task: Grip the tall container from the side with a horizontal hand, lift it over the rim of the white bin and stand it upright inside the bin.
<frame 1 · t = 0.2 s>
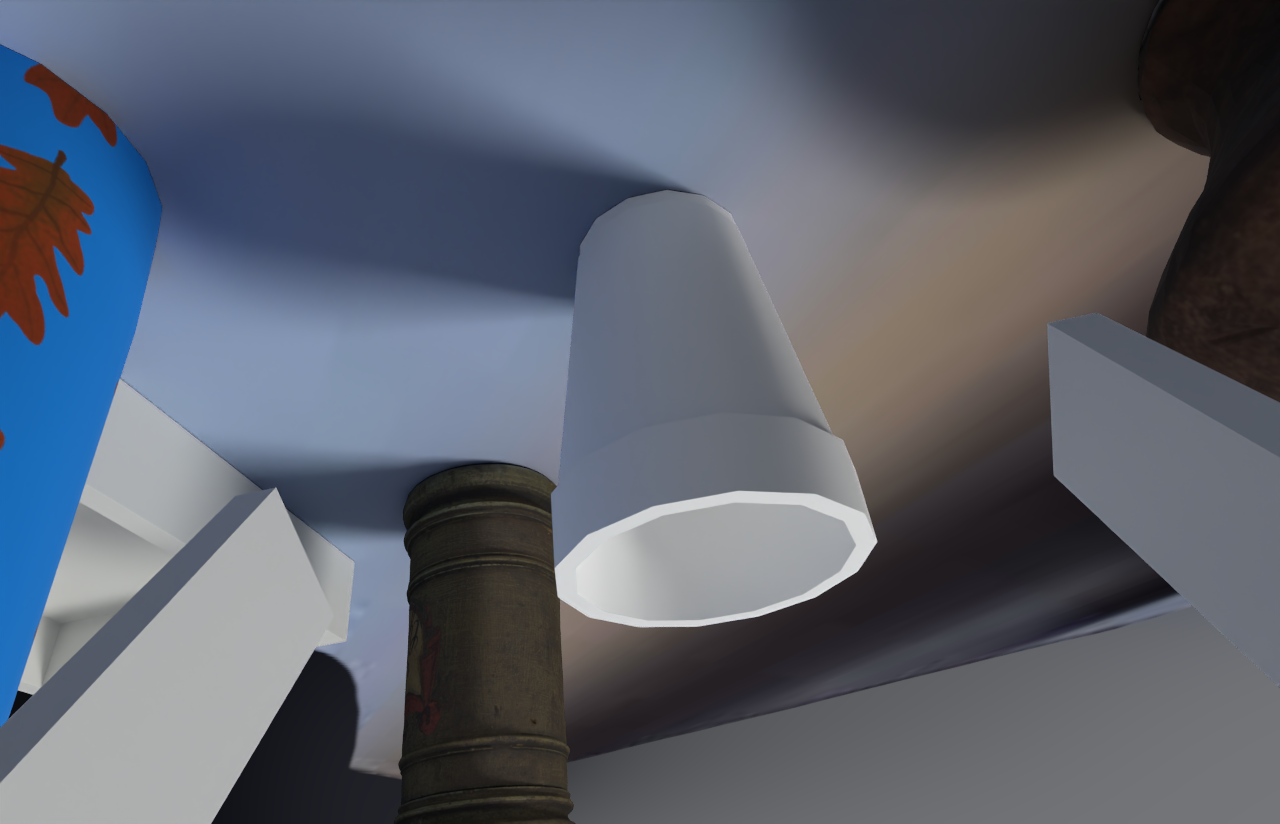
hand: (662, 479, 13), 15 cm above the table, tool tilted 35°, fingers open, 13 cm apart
foam cup: (659, 252, 31), on the table
white bin: (85, 523, 42), on the table
container: (485, 500, 45), on the table
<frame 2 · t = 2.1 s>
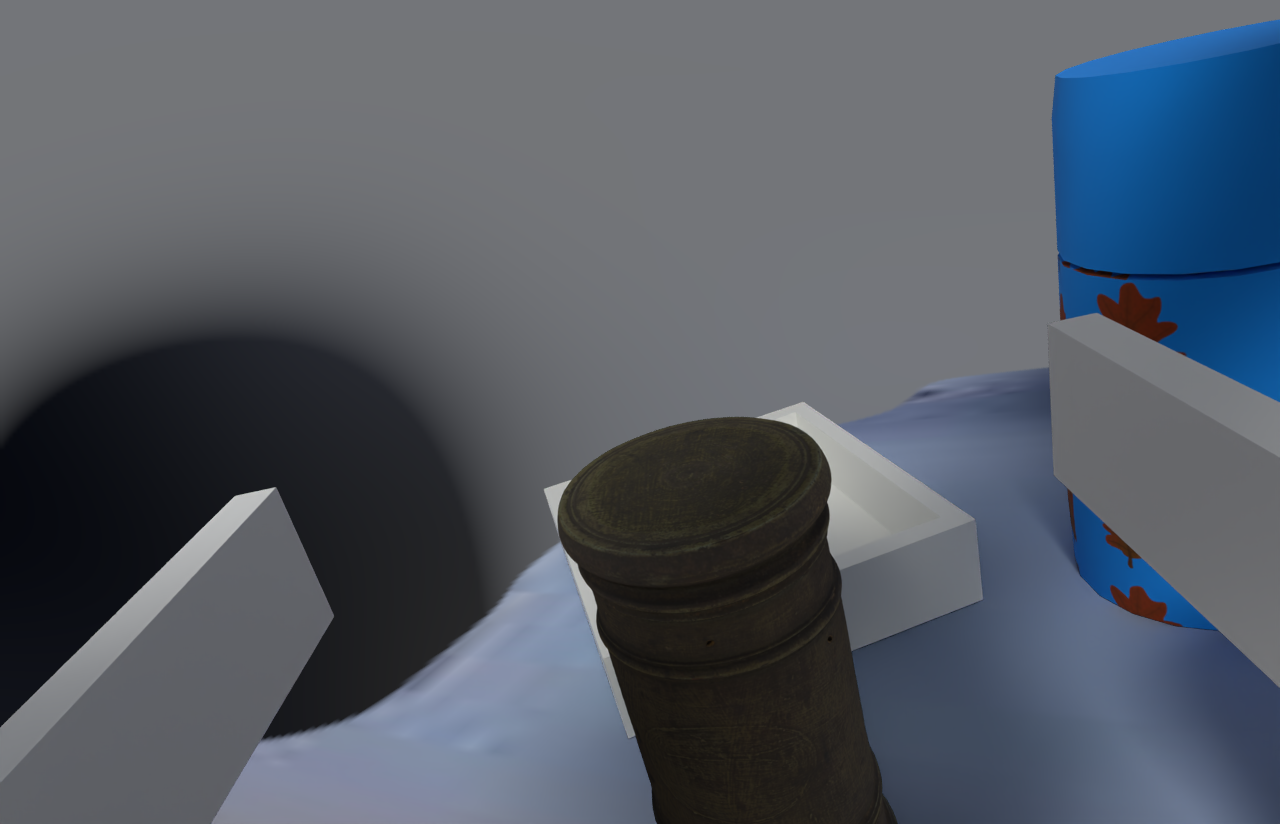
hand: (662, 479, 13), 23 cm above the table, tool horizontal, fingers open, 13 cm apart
white bin: (740, 570, 50), on the table
thermos: (1190, 567, 41), on the table
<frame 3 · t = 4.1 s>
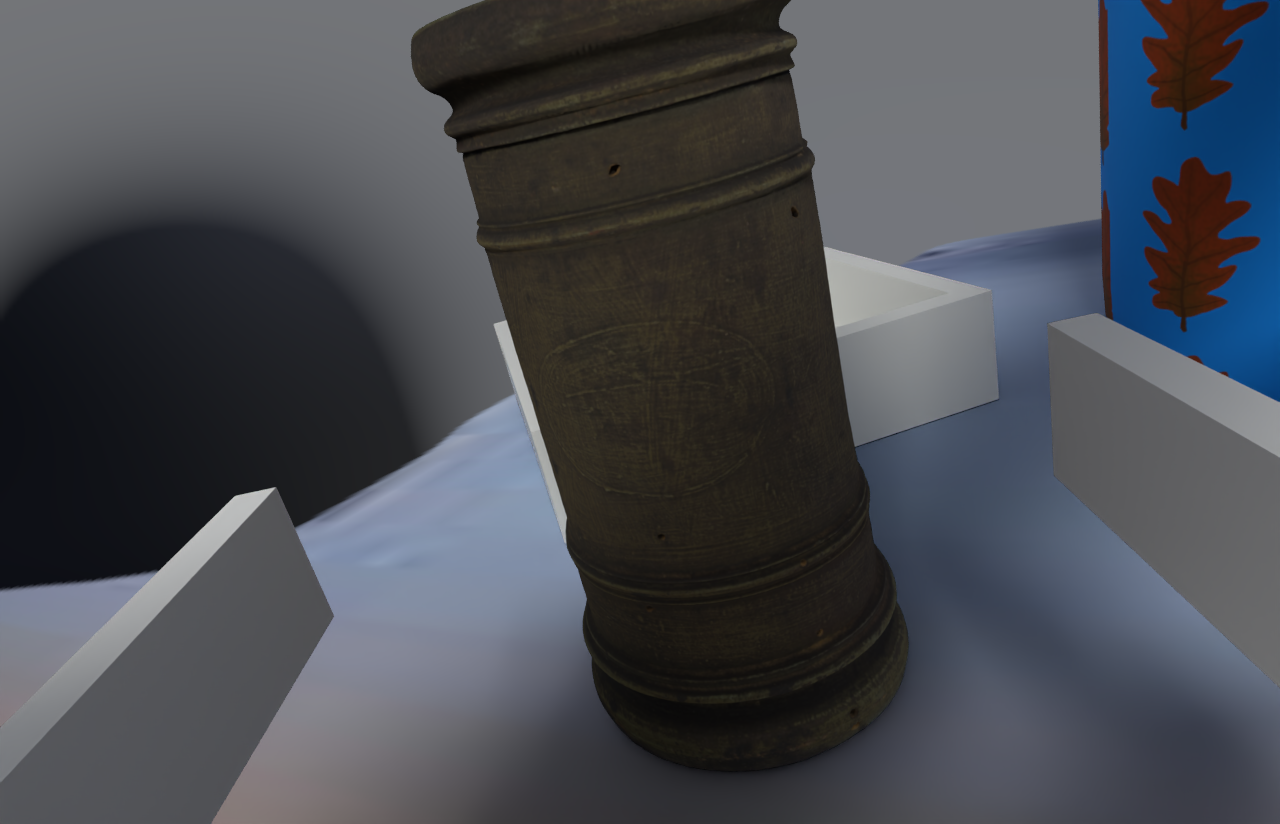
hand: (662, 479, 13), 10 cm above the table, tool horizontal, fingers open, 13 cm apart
white bin: (714, 398, 43), on the table
thermos: (1251, 355, 34), on the table
container: (748, 661, 24), on the table
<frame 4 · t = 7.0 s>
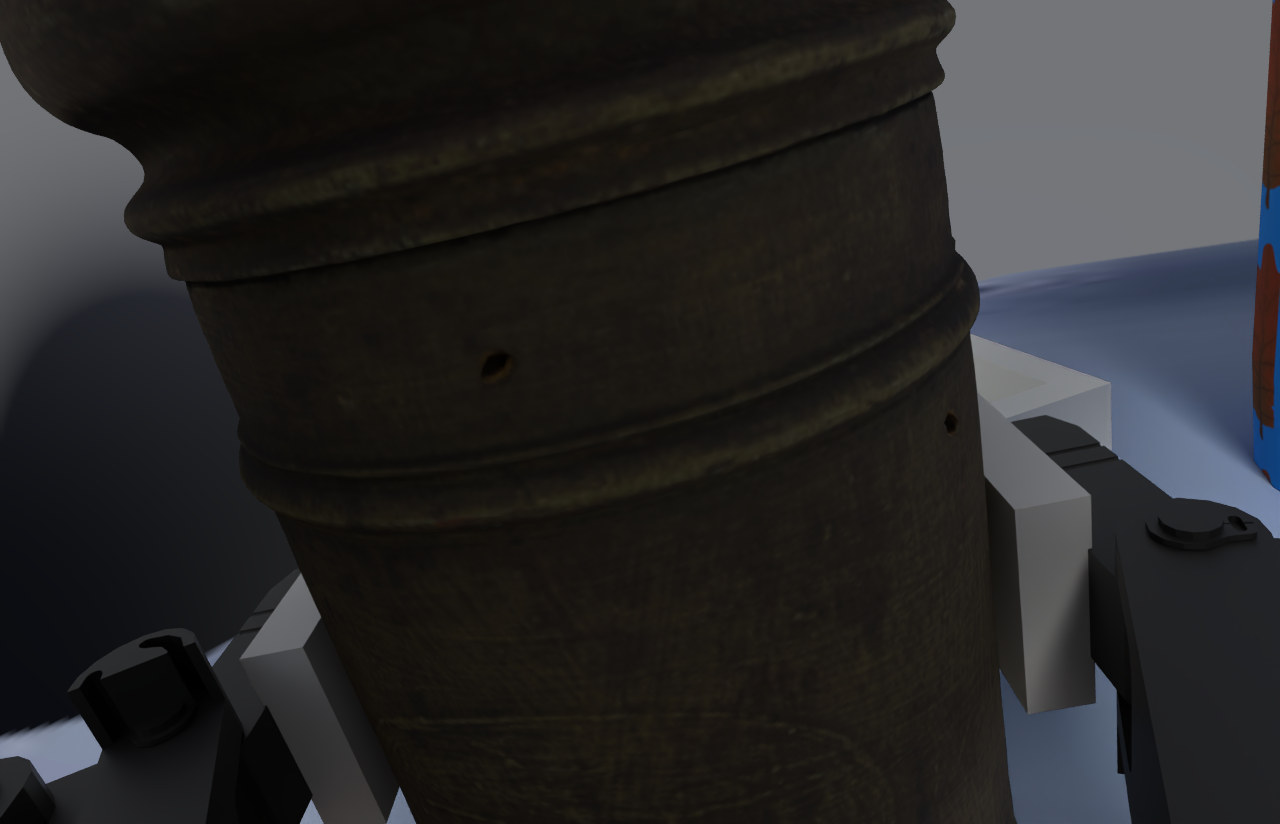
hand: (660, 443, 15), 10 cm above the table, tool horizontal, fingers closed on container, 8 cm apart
white bin: (720, 496, 33), on the table
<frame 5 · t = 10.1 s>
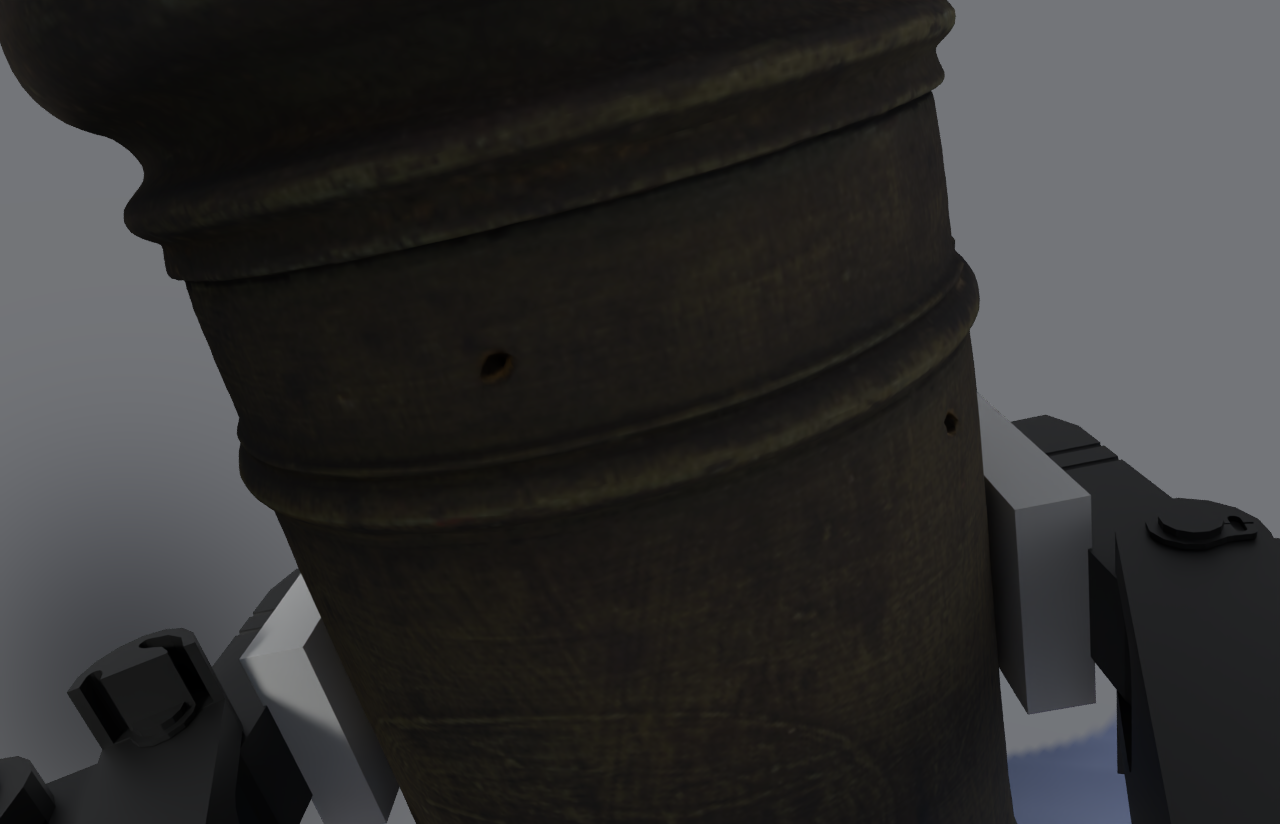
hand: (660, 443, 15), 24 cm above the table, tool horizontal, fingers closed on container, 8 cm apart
when the fingers open (12 cm above the table, at t = 13.1 s): container drops 1 cm, resting on white bin.
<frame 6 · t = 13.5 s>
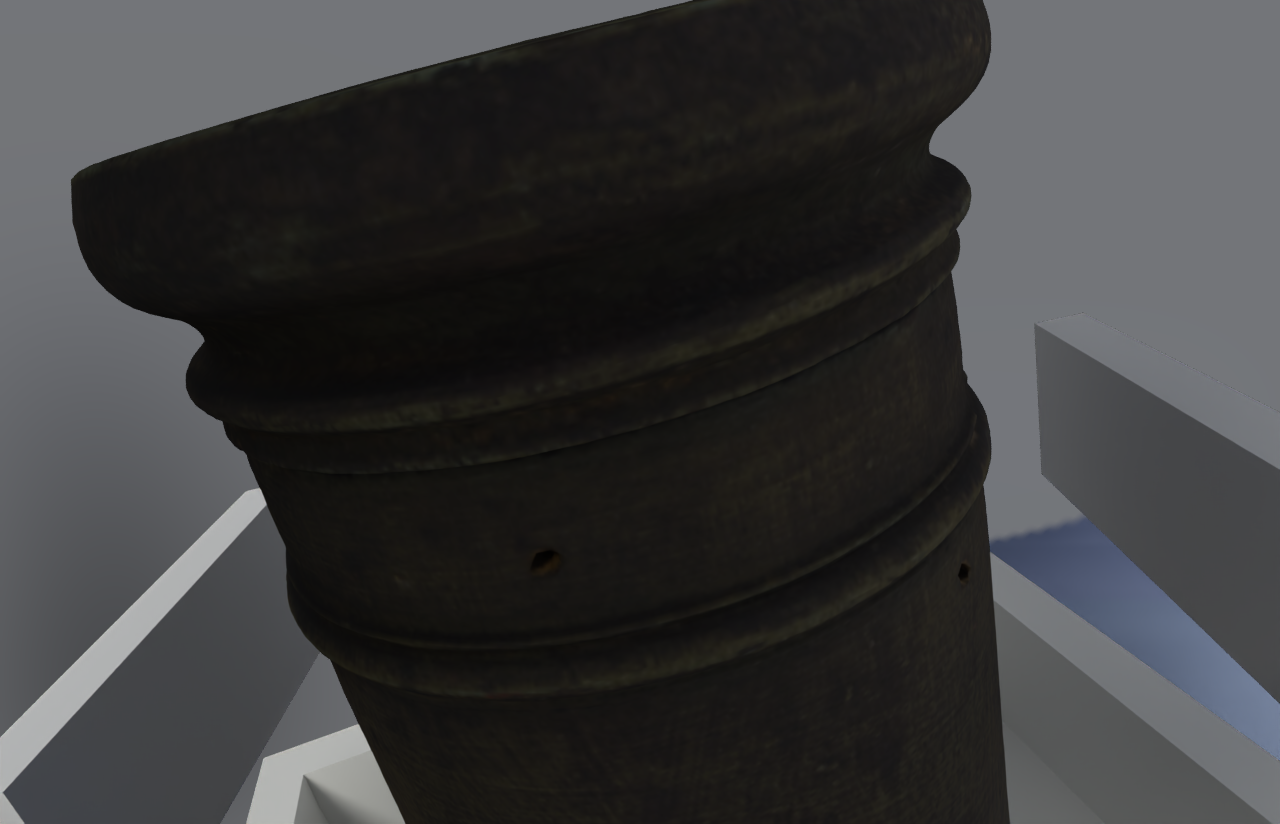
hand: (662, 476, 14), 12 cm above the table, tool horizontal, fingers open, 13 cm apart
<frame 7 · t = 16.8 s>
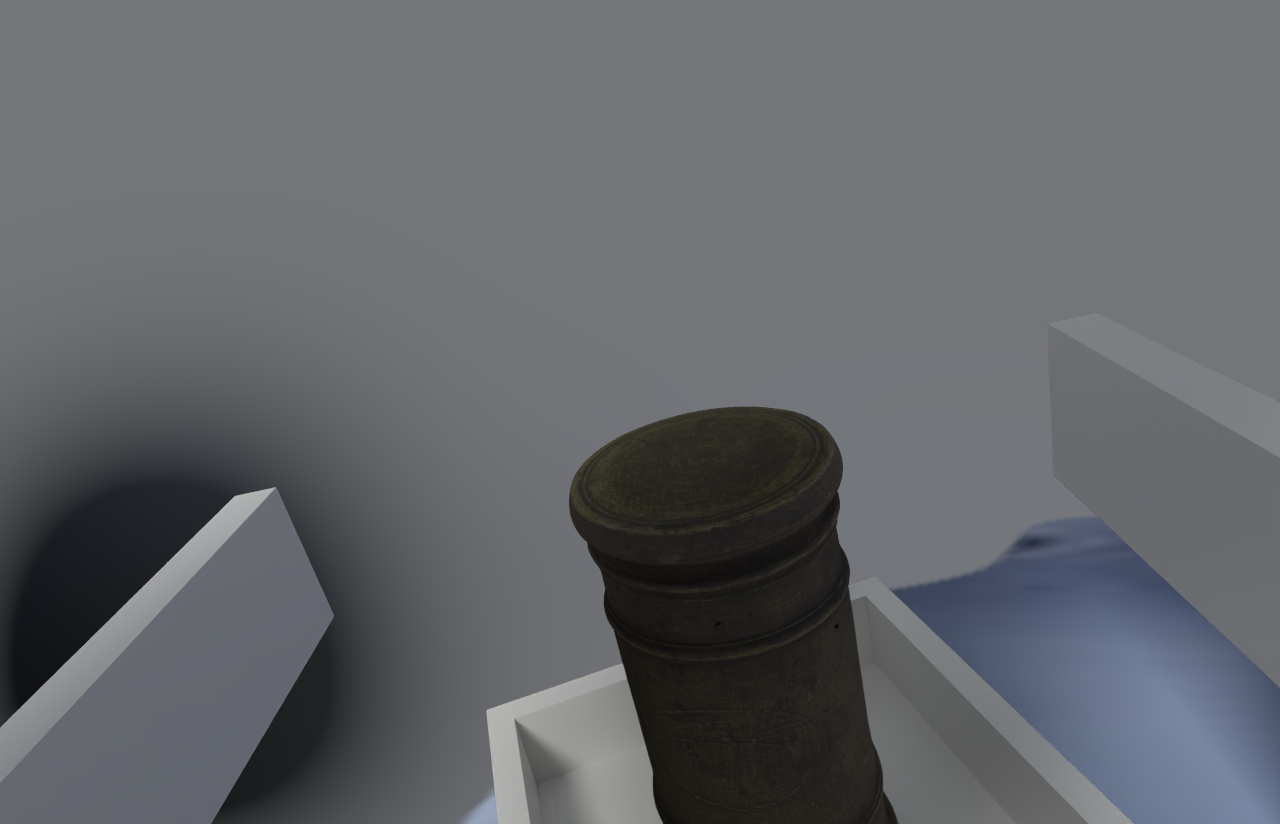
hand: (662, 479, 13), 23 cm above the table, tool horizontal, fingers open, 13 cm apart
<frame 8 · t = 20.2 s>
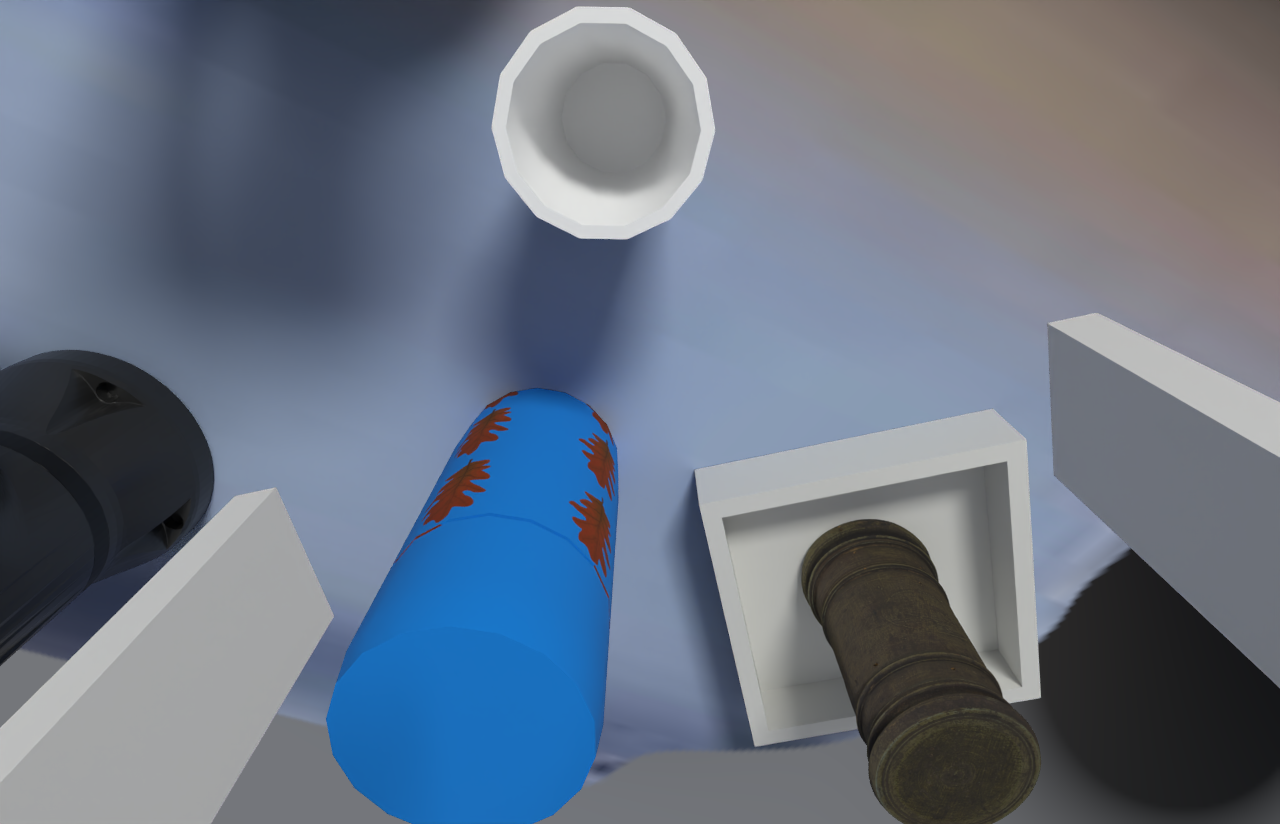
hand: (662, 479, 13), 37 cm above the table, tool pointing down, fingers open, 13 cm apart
foam cup: (614, 118, 46), on the table
white bin: (859, 564, 57), on the table
thermos: (541, 459, 54), on the table
container: (863, 570, 56), point 1 cm above the table, touching white bin
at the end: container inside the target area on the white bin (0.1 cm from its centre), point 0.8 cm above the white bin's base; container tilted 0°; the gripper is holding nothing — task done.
